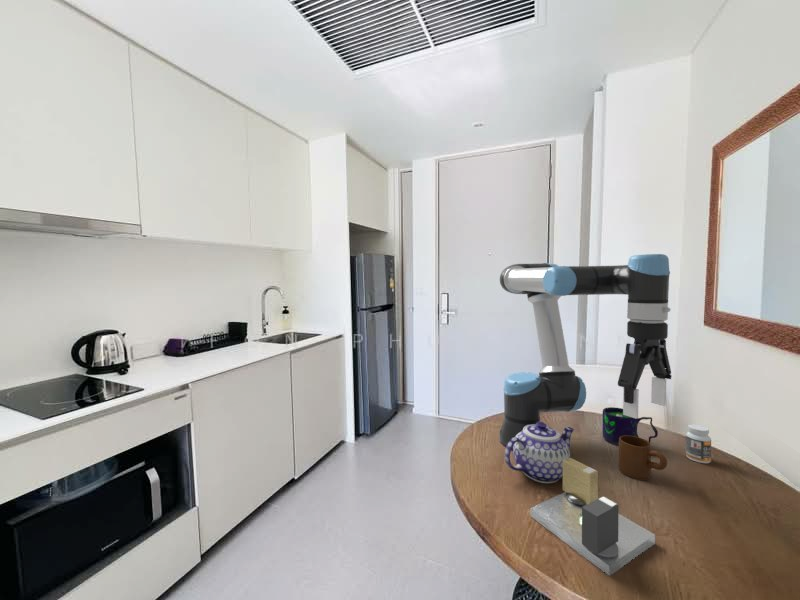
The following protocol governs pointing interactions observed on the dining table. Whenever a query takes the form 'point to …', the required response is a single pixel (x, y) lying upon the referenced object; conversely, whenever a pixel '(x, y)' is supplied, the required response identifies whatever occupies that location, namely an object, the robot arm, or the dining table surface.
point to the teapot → (540, 452)
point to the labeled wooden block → (579, 482)
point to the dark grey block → (600, 527)
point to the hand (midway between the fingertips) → (645, 410)
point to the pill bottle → (698, 444)
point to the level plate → (568, 527)
